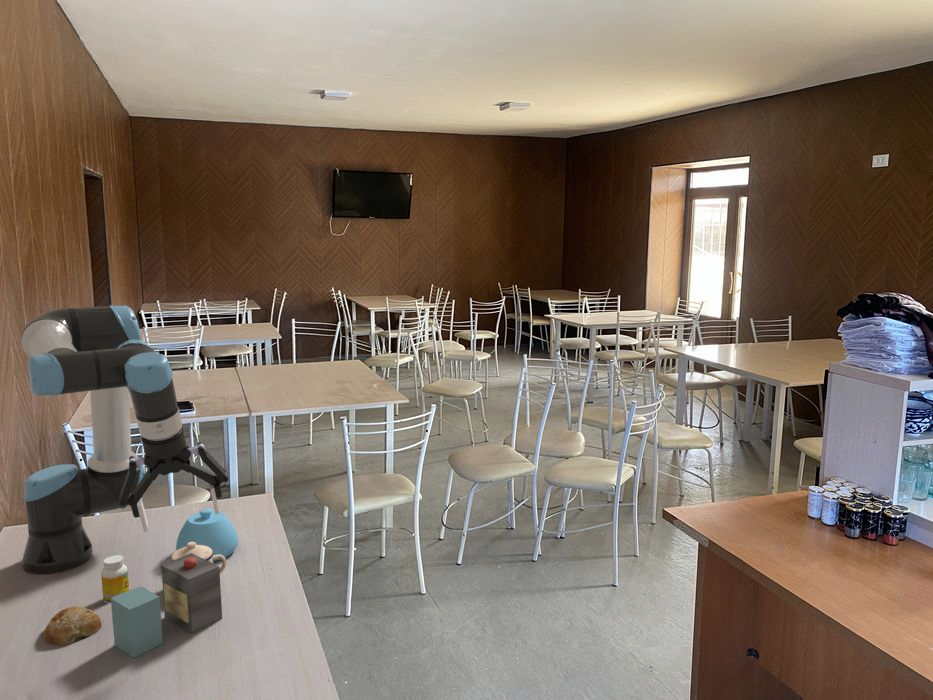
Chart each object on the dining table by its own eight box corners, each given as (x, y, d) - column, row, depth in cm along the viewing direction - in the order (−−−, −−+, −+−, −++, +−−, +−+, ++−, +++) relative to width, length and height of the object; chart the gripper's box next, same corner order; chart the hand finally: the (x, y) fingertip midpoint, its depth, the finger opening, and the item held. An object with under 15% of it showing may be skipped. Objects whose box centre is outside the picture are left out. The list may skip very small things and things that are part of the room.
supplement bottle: (103, 596, 160) (99, 556, 158) (129, 590, 162) (126, 551, 160) (103, 607, 155) (99, 566, 153) (130, 601, 157) (127, 561, 156)
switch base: (90, 655, 137) (84, 587, 135) (192, 607, 155) (188, 546, 152) (122, 678, 130) (117, 607, 128) (225, 626, 148) (222, 562, 145)
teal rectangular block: (114, 645, 138) (110, 598, 137) (143, 631, 143) (140, 585, 142) (133, 658, 134) (129, 609, 133) (162, 643, 139) (159, 596, 137)
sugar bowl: (246, 556, 179) (244, 513, 178) (184, 572, 171) (181, 527, 169) (229, 535, 192) (227, 495, 190) (170, 549, 183) (168, 507, 181)
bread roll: (58, 671, 138) (64, 643, 135) (31, 636, 142) (36, 608, 139) (106, 646, 147) (113, 619, 144) (79, 614, 151) (85, 587, 148)
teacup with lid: (177, 604, 156) (174, 555, 154) (169, 587, 164) (166, 540, 162) (232, 590, 163) (229, 542, 161) (222, 574, 170) (219, 528, 168)
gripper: (88, 456, 126) (114, 547, 136) (232, 427, 135) (247, 514, 145) (90, 435, 133) (115, 523, 142) (227, 408, 141) (242, 492, 151)
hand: (181, 518), depth 144 cm, fingers open, 13 cm apart
